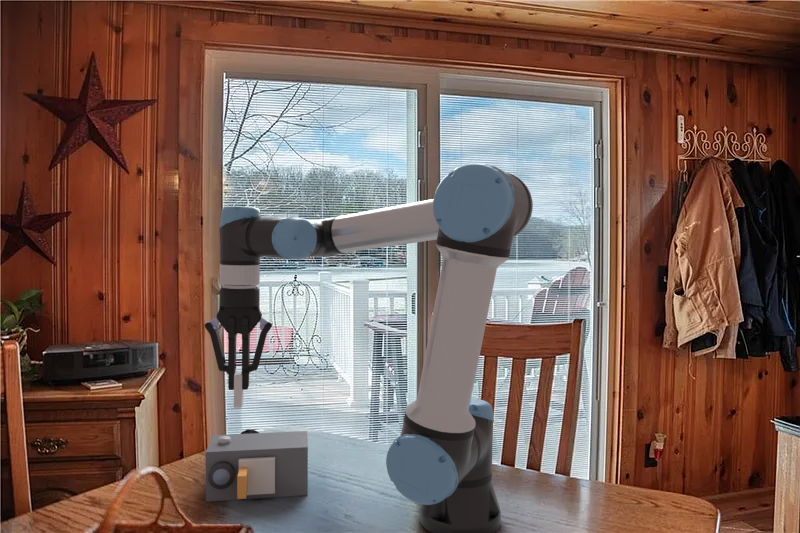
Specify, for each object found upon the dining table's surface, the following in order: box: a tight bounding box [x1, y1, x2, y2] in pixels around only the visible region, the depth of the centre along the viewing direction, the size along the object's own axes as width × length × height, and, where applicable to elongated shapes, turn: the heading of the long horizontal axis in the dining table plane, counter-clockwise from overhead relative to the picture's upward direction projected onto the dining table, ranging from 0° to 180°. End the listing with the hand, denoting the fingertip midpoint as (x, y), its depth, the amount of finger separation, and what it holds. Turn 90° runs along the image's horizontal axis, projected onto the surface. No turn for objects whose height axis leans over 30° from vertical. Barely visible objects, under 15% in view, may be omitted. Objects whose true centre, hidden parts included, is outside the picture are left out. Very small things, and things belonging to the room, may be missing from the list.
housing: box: [205, 430, 309, 503], centre depth 120 cm, size 12×20×11 cm, turn 100°
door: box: [237, 457, 275, 500], centre depth 113 cm, size 6×7×7 cm
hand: (238, 405), depth 114 cm, fingers closed
